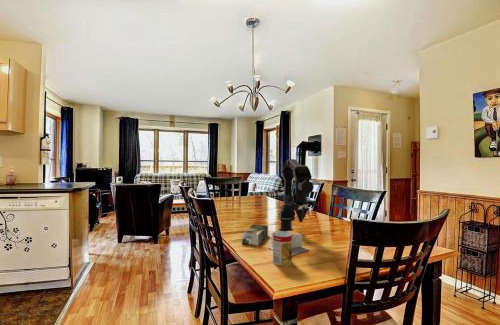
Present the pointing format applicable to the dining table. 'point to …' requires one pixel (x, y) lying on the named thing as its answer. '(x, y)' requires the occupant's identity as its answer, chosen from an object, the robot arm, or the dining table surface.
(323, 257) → the dining table surface
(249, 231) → the juice carton
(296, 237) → the small box
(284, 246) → the canned food
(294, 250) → the mat
